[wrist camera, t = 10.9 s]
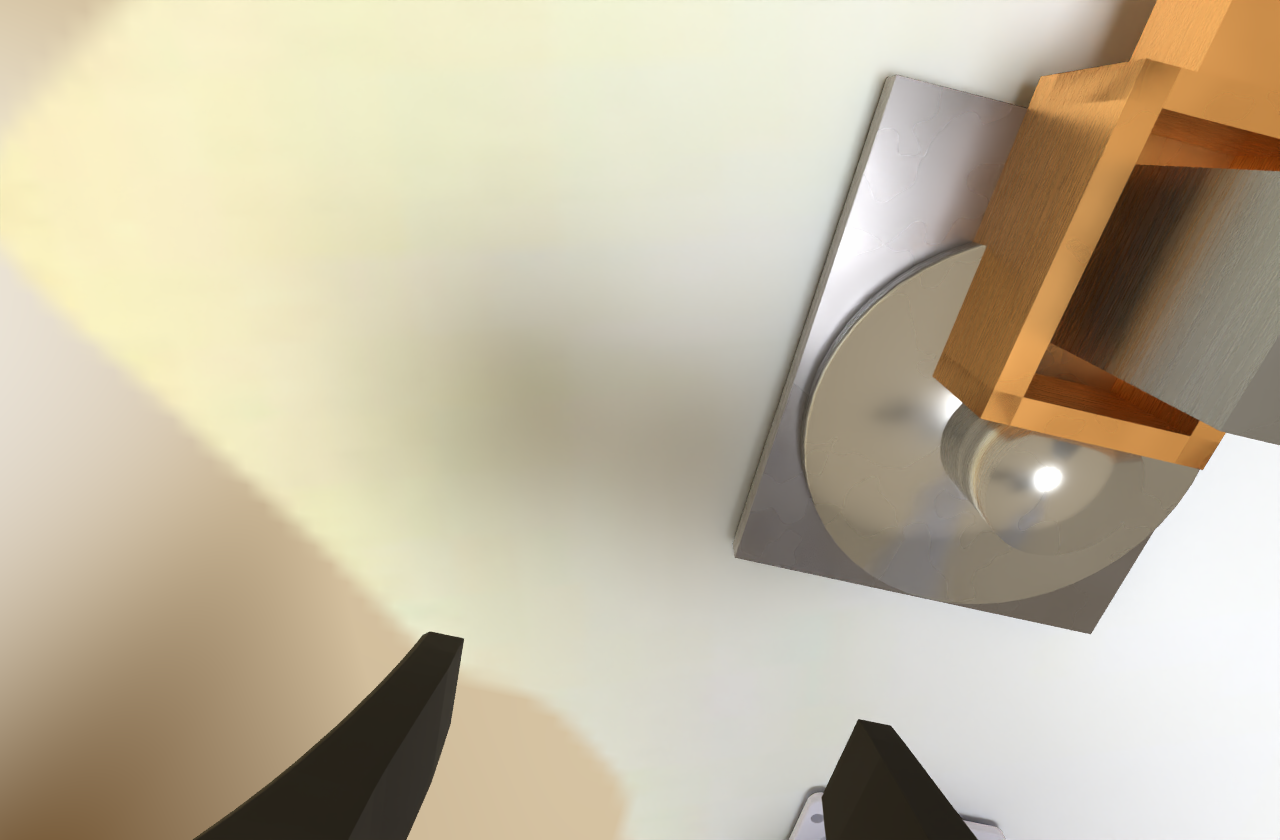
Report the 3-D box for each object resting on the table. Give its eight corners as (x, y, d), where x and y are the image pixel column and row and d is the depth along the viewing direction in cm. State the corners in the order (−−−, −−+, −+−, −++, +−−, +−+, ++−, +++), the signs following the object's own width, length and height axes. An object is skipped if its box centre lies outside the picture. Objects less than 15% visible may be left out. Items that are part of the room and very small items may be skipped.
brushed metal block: (1101, 344, 18) (1355, 463, 11) (1014, 323, 17) (1219, 431, 11) (1183, 185, 16) (1532, 216, 10) (1088, 161, 16) (1376, 176, 9)
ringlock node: (1077, 618, 23) (1171, 727, 18) (732, 543, 22) (747, 639, 18) (1542, -165, 15) (1903, -291, 10) (1017, -318, 14) (1170, -519, 10)
